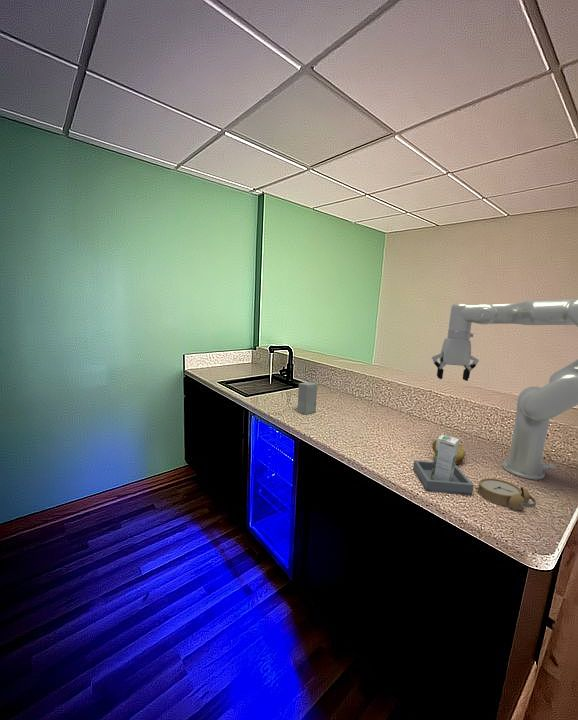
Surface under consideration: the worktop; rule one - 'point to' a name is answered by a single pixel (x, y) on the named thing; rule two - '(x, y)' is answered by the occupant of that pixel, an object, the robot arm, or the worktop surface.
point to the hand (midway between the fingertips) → (452, 379)
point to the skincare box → (307, 397)
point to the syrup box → (444, 458)
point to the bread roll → (460, 452)
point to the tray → (456, 486)
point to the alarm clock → (505, 493)
